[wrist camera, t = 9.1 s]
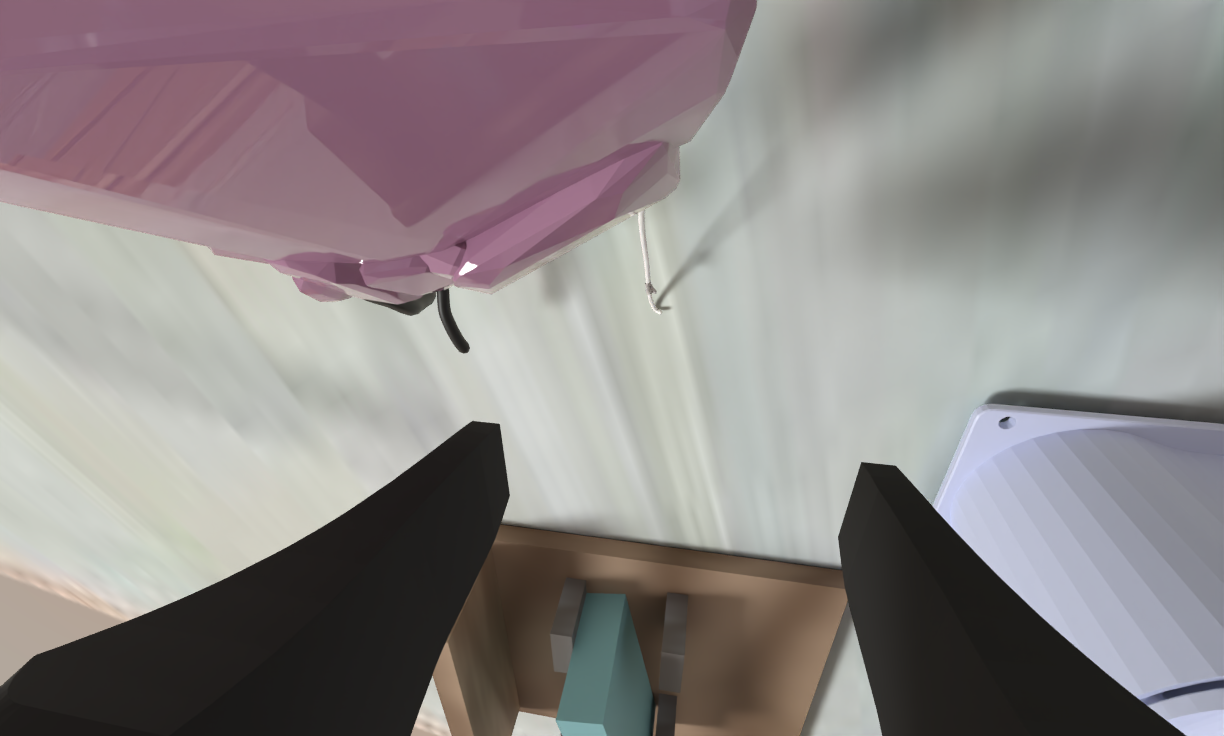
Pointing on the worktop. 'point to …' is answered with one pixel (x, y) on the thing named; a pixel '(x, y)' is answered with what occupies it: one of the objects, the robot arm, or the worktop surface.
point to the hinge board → (642, 633)
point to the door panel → (606, 675)
